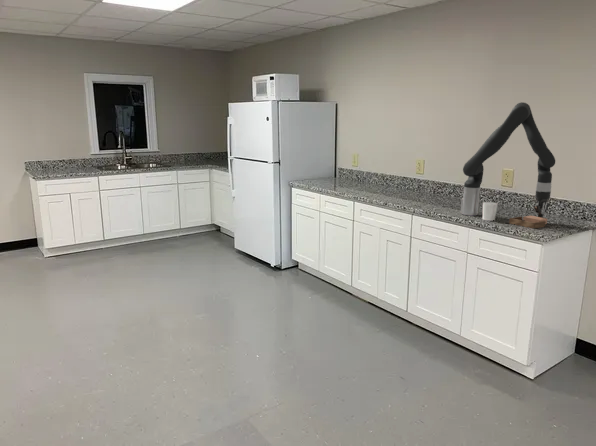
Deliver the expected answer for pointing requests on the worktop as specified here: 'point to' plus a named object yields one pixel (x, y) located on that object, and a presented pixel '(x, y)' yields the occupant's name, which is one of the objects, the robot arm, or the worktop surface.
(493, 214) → the white cup
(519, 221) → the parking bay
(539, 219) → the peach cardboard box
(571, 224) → the worktop surface
